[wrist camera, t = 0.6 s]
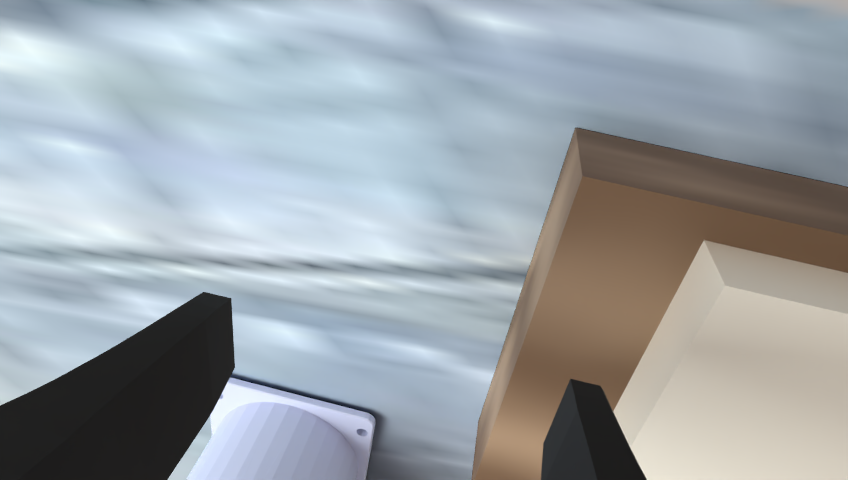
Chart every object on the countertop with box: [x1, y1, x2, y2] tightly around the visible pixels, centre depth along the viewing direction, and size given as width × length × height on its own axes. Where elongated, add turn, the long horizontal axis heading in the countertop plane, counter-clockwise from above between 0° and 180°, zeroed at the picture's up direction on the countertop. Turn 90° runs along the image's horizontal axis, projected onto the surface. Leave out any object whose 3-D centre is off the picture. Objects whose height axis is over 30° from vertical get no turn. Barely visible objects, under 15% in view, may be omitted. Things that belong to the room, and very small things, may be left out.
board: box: [472, 128, 848, 480], centre depth 19 cm, size 14×13×4 cm
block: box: [613, 240, 848, 480], centre depth 16 cm, size 10×7×2 cm
